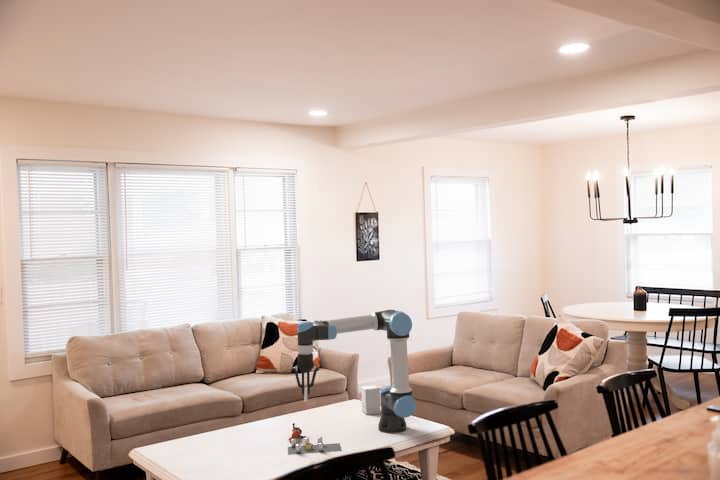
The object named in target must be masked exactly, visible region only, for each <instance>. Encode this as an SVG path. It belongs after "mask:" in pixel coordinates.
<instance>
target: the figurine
mask: <svg viewBox="0 0 720 480" xmlns="http://www.w3.org/2000/svg"><path fill="white" fill-rule="evenodd" d="M295 425H296V423H292V430H291V431H292V433H291V436H290V437H289V438H288V441H289V442H290V443H291V439H296V440H297V439H299V438H301V439H302V438H303V439H304V438H307V436H305V435H304V436H303V435H301V434H302V432H303V430H302V429H301V428H300V427H297V426H295Z"/></svg>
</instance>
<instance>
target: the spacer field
mask: <svg viewBox="0 0 720 480" xmlns="http://www.w3.org/2000/svg"><path fill="white" fill-rule="evenodd" d="M303 439H304V442H303V443H304V444H305V443H310V437H305V438H303ZM290 443H291V446H290V447H292V448H296V454H295V455H301V454H300V453H301V446H302V445H301V443H297V439H291V442H290ZM323 444H324V442H323V436H318V437H317V445H318V448H319V452H321V453H324V452H323V451H324V449H323Z"/></svg>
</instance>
